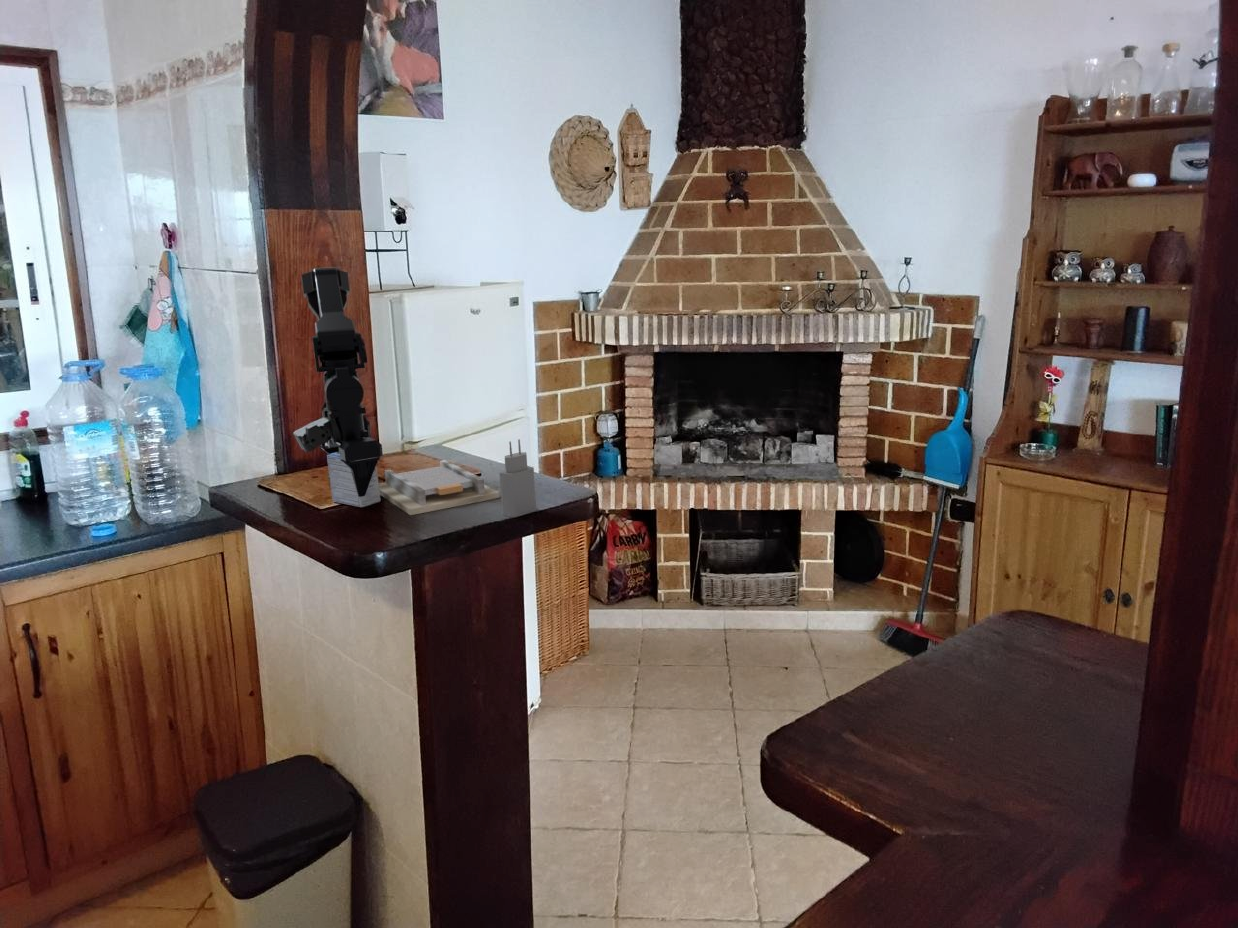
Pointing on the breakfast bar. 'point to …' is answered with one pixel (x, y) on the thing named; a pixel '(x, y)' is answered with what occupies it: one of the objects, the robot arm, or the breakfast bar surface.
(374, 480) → the medicine box
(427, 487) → the rail carriage
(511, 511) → the power adapter
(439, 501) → the rail board
